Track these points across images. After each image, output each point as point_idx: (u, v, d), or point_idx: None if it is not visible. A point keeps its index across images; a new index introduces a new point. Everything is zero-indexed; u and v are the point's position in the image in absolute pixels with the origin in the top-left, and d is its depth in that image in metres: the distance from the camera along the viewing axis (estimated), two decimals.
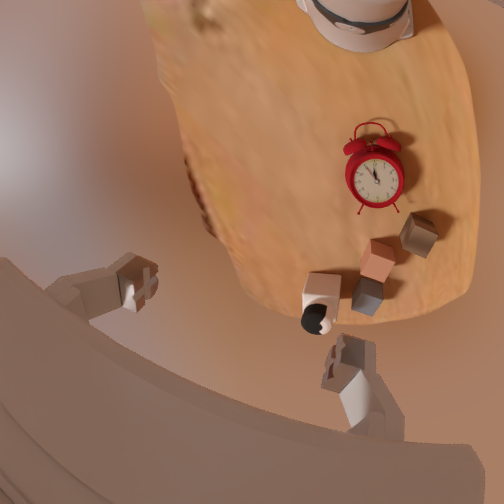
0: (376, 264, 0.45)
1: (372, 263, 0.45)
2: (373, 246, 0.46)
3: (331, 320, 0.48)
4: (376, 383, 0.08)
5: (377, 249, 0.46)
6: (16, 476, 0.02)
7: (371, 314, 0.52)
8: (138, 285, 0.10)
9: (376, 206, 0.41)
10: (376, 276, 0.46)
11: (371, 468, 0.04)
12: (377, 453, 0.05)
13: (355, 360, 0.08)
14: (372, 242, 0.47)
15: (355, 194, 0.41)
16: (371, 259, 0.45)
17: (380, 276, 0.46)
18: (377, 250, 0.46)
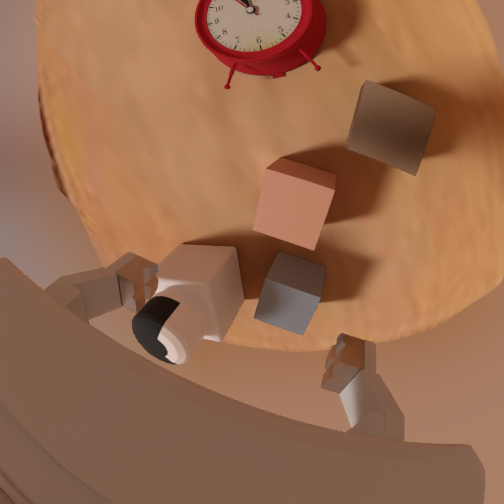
0: (285, 199, 0.19)
1: (274, 197, 0.19)
2: (280, 163, 0.20)
3: (183, 335, 0.21)
4: (376, 383, 0.08)
5: (290, 168, 0.20)
6: (16, 476, 0.02)
7: (300, 331, 0.25)
8: (138, 285, 0.10)
9: (258, 57, 0.16)
10: (292, 232, 0.20)
11: (371, 468, 0.04)
12: (377, 453, 0.05)
13: (355, 360, 0.08)
14: (282, 160, 0.22)
15: (209, 44, 0.16)
16: (270, 186, 0.19)
17: (302, 233, 0.20)
18: (287, 168, 0.20)
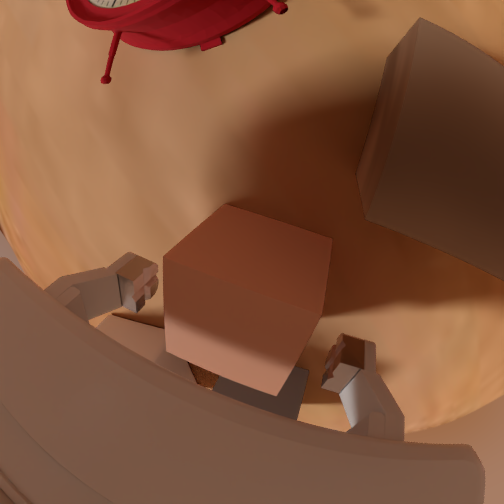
0: (211, 319, 0.09)
1: (190, 312, 0.09)
2: (211, 228, 0.10)
3: None
4: (376, 383, 0.08)
5: (230, 240, 0.10)
6: (16, 476, 0.02)
7: None
8: (138, 285, 0.10)
9: (144, 6, 0.05)
10: (234, 370, 0.10)
11: (371, 468, 0.04)
12: (377, 453, 0.05)
13: (355, 360, 0.08)
14: (224, 214, 0.11)
15: (79, 11, 0.06)
16: (179, 292, 0.09)
17: (252, 373, 0.10)
18: (222, 244, 0.09)
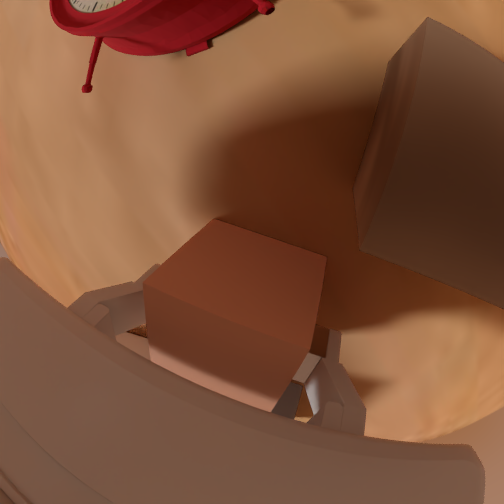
0: (195, 346, 0.08)
1: (173, 338, 0.08)
2: (196, 248, 0.09)
3: None
4: (337, 373, 0.08)
5: (216, 263, 0.09)
6: (16, 476, 0.02)
7: None
8: None
9: (122, 10, 0.05)
10: None
11: (371, 468, 0.04)
12: (377, 453, 0.05)
13: (316, 348, 0.09)
14: (211, 231, 0.11)
15: (61, 16, 0.05)
16: (161, 319, 0.08)
17: (239, 398, 0.09)
18: (206, 267, 0.09)
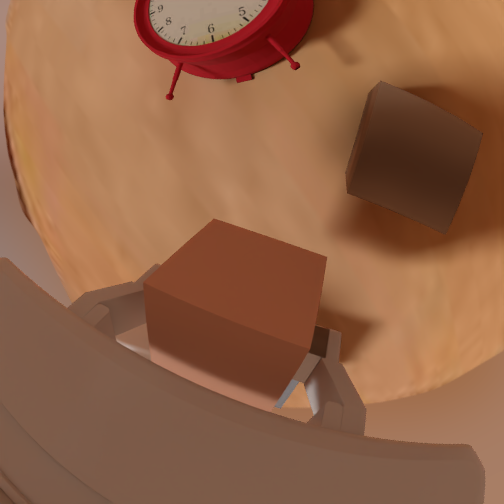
0: (195, 346, 0.08)
1: (174, 338, 0.08)
2: (196, 248, 0.09)
3: None
4: (337, 373, 0.08)
5: (216, 263, 0.09)
6: (16, 476, 0.02)
7: (277, 404, 0.19)
8: None
9: (207, 52, 0.10)
10: None
11: (371, 468, 0.04)
12: (377, 453, 0.05)
13: (316, 348, 0.09)
14: (211, 231, 0.11)
15: (148, 40, 0.11)
16: (162, 319, 0.08)
17: (240, 398, 0.09)
18: (206, 267, 0.09)
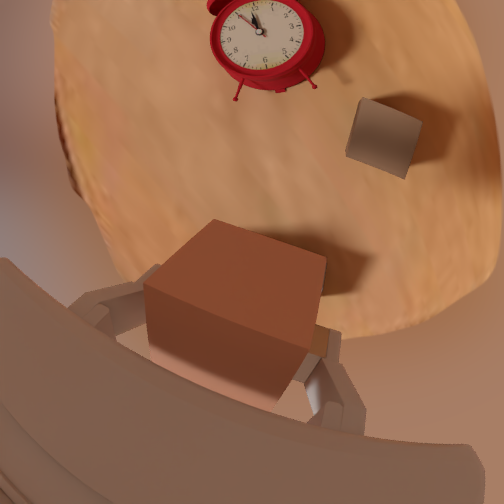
0: (195, 346, 0.08)
1: (173, 338, 0.08)
2: (196, 248, 0.10)
3: None
4: (337, 373, 0.08)
5: (216, 263, 0.09)
6: (16, 476, 0.02)
7: None
8: None
9: (263, 75, 0.19)
10: None
11: (371, 468, 0.04)
12: (377, 453, 0.05)
13: (316, 348, 0.09)
14: (211, 232, 0.11)
15: (222, 60, 0.19)
16: (161, 319, 0.08)
17: (239, 398, 0.09)
18: (206, 267, 0.09)
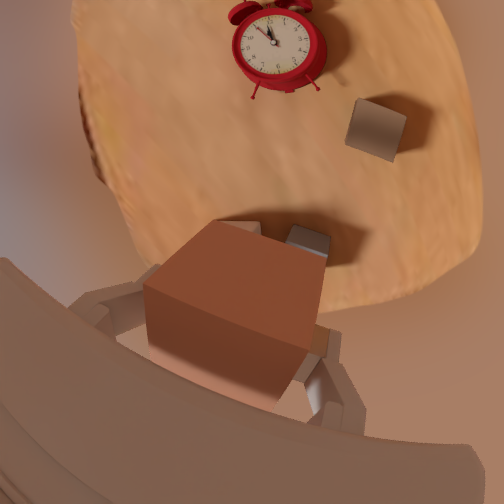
0: (195, 347, 0.08)
1: (173, 339, 0.08)
2: (196, 249, 0.09)
3: None
4: (337, 373, 0.08)
5: (216, 264, 0.09)
6: (16, 476, 0.02)
7: None
8: None
9: (277, 78, 0.23)
10: None
11: (371, 468, 0.04)
12: (377, 453, 0.05)
13: (316, 348, 0.09)
14: (211, 232, 0.11)
15: (242, 65, 0.24)
16: (161, 319, 0.08)
17: (239, 399, 0.09)
18: (205, 268, 0.09)
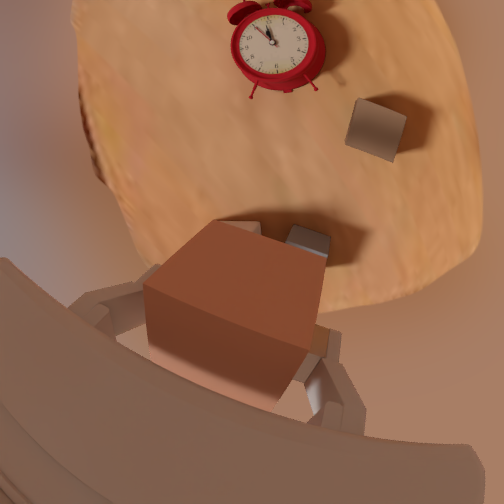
0: (195, 347, 0.08)
1: (173, 339, 0.08)
2: (196, 249, 0.09)
3: None
4: (337, 373, 0.08)
5: (216, 264, 0.09)
6: (16, 476, 0.02)
7: None
8: None
9: (275, 78, 0.23)
10: None
11: (371, 468, 0.04)
12: (377, 453, 0.05)
13: (316, 348, 0.09)
14: (211, 232, 0.11)
15: (241, 65, 0.24)
16: (161, 319, 0.08)
17: (239, 399, 0.09)
18: (205, 268, 0.09)
